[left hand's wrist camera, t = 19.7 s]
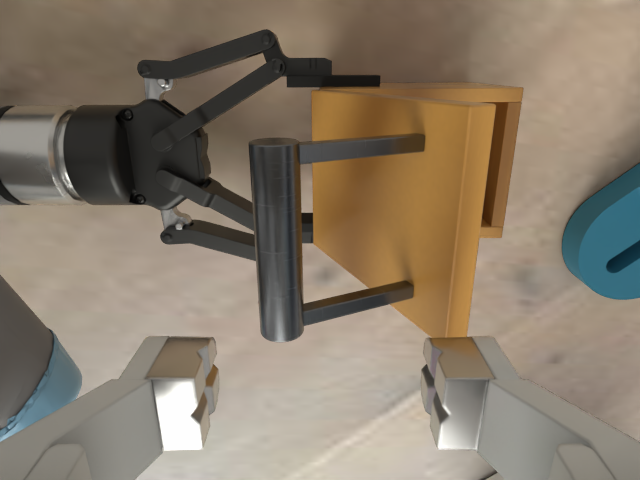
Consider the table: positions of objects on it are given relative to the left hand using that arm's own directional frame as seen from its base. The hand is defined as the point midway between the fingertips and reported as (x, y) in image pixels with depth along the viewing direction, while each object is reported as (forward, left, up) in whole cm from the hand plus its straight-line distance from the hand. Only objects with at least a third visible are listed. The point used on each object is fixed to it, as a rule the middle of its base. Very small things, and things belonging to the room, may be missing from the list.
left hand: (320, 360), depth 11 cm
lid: (-4, 0, -14) cm, 15 cm away
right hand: (-4, 0, -26) cm, 26 cm away
